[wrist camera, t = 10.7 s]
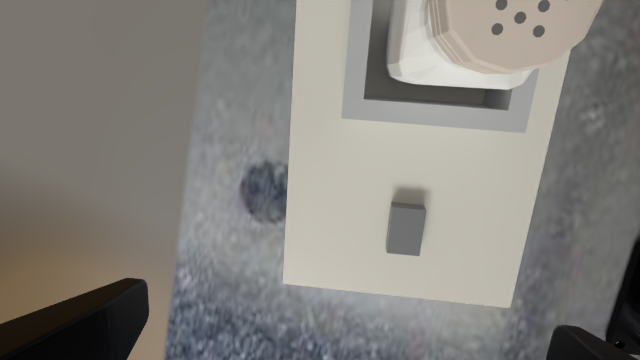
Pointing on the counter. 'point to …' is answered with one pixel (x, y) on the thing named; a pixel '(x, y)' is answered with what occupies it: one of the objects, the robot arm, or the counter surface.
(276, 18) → the counter surface
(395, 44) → the pepper shaker
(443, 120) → the outlet plate
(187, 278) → the counter surface
